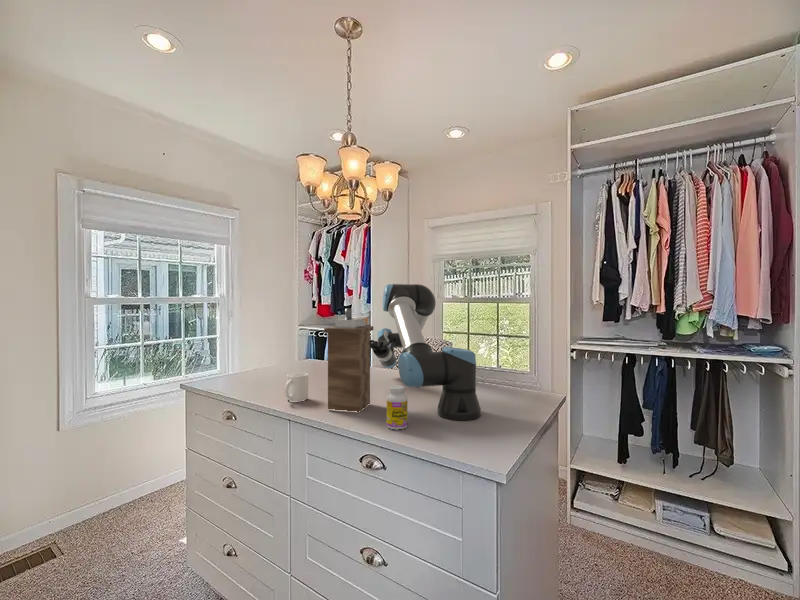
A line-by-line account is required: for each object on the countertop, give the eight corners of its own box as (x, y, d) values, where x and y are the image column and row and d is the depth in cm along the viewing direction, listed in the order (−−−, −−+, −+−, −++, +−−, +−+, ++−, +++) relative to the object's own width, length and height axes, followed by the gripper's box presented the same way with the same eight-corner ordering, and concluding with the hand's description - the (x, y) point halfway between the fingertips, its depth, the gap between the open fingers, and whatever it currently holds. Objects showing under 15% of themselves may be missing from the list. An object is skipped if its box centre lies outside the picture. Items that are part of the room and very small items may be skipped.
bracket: (354, 324, 161) (354, 307, 161) (373, 324, 159) (373, 307, 159) (335, 327, 142) (335, 308, 141) (355, 328, 140) (355, 308, 139)
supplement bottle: (389, 431, 119) (389, 390, 119) (384, 424, 125) (384, 385, 125) (410, 429, 121) (410, 388, 121) (404, 422, 127) (404, 383, 127)
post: (339, 401, 153) (339, 325, 153) (373, 403, 150) (373, 326, 149) (324, 411, 140) (324, 328, 139) (360, 414, 136) (360, 329, 136)
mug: (294, 406, 146) (294, 379, 146) (276, 404, 149) (276, 377, 149) (312, 398, 157) (312, 373, 157) (295, 396, 160) (295, 371, 160)
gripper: (406, 359, 180) (396, 341, 162) (356, 357, 187) (341, 339, 169) (408, 344, 184) (398, 325, 166) (359, 343, 190) (344, 324, 172)
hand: (369, 332), depth 167 cm, fingers open, 13 cm apart
